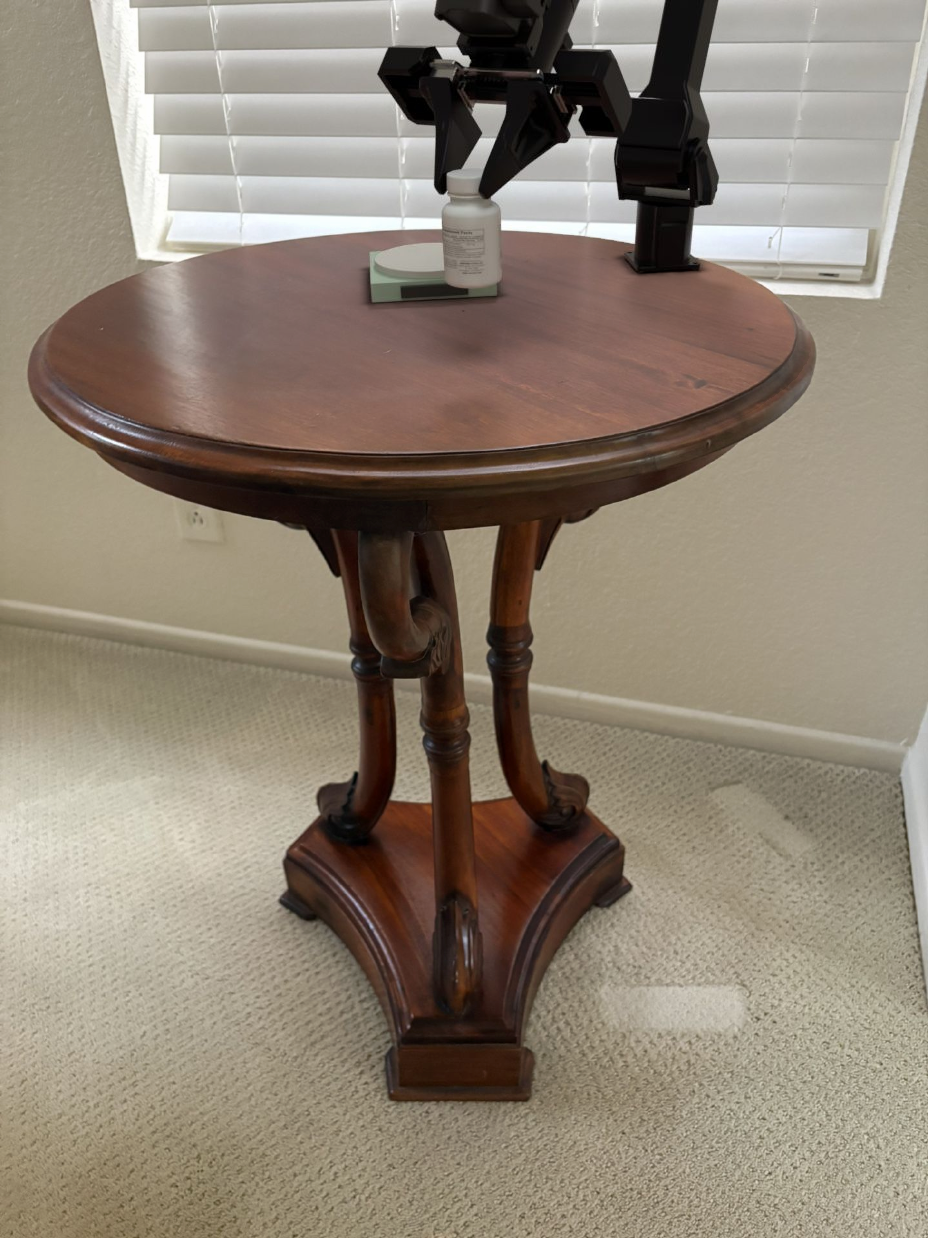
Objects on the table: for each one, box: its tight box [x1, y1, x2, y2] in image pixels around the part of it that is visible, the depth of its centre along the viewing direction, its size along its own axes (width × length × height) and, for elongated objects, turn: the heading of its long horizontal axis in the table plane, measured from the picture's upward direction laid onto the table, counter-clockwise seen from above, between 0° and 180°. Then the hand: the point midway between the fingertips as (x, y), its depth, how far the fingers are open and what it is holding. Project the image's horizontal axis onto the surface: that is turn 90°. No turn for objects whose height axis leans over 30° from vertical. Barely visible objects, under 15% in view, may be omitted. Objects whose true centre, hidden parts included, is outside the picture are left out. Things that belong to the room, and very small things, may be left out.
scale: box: [369, 242, 498, 303], centre depth 100 cm, size 12×12×2 cm
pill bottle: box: [441, 167, 503, 289], centre depth 75 cm, size 4×4×8 cm
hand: (460, 193), depth 72 cm, fingers closed on pill bottle, 3 cm apart
